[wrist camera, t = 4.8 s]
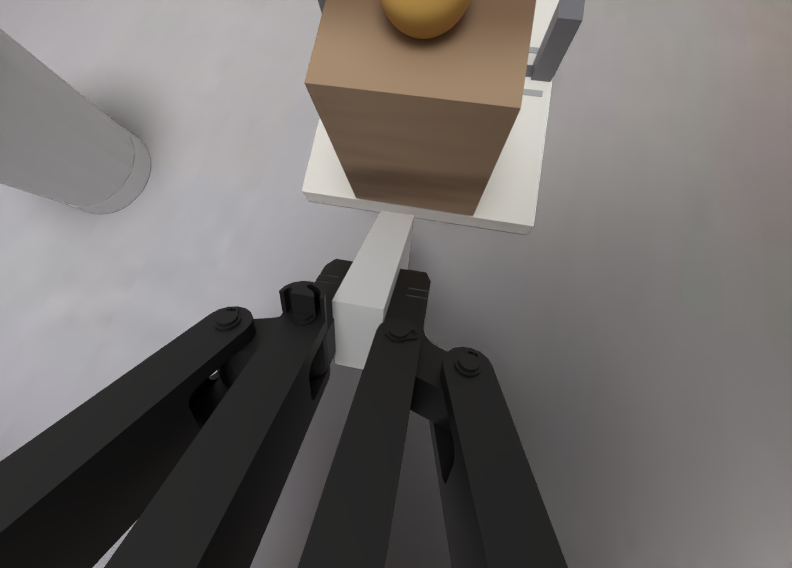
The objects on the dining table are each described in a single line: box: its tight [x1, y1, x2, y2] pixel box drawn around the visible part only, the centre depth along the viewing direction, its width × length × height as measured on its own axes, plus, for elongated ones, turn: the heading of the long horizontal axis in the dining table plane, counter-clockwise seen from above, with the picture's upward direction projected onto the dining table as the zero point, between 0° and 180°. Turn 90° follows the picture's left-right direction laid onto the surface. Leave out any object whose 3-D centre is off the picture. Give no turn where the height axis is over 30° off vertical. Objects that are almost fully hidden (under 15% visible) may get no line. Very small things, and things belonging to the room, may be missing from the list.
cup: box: [0, 29, 151, 214], centre depth 17 cm, size 8×8×12 cm
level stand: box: [302, 0, 585, 234], centre depth 20 cm, size 20×14×6 cm
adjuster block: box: [305, 0, 536, 216], centre depth 14 cm, size 6×7×12 cm
